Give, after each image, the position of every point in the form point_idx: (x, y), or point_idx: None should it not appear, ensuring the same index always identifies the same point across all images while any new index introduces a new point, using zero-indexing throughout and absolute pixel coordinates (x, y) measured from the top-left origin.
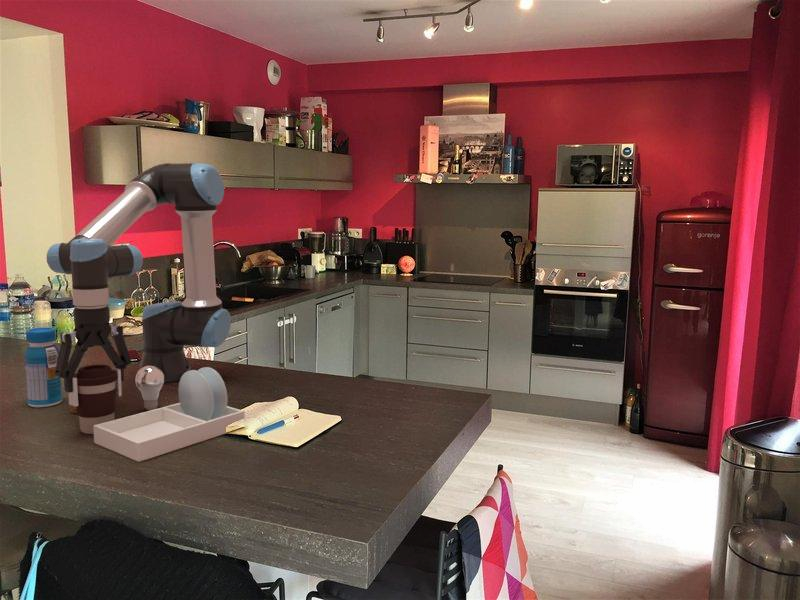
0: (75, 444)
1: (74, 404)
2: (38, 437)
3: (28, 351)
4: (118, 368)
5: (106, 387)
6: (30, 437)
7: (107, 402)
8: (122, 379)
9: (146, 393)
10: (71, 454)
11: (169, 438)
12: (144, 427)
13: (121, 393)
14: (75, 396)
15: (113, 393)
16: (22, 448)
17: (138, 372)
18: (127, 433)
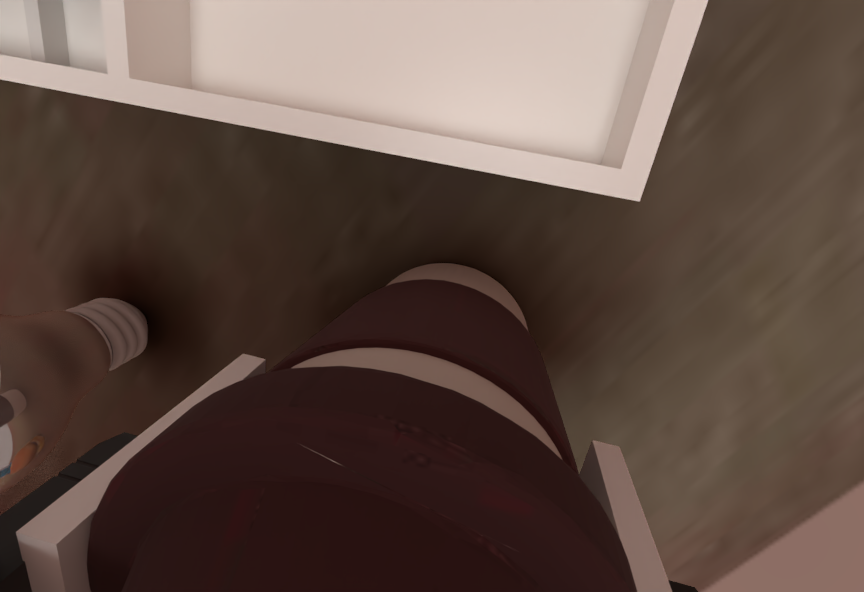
0: (669, 261)
1: (621, 465)
2: (652, 485)
3: None
4: (20, 574)
5: (395, 371)
6: (666, 513)
7: (425, 305)
8: (119, 445)
9: (69, 352)
10: (825, 143)
11: None
12: (329, 79)
13: (233, 362)
14: (633, 511)
15: (335, 331)
16: (813, 442)
17: None
18: (458, 79)
